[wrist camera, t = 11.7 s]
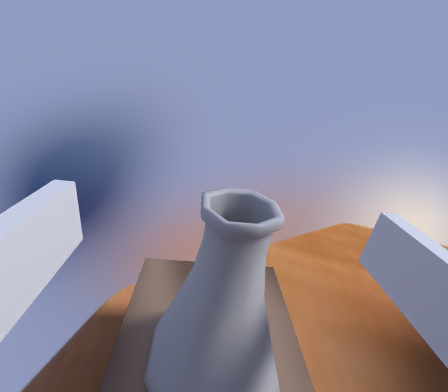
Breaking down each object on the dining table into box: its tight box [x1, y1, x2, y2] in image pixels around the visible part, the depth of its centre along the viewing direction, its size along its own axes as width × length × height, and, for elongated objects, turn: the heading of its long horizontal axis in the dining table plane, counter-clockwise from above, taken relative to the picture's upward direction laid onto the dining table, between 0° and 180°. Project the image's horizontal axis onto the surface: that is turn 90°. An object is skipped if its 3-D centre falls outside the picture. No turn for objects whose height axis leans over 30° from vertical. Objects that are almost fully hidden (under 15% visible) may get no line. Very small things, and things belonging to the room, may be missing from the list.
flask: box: [144, 188, 285, 392], centre depth 11 cm, size 7×7×10 cm
